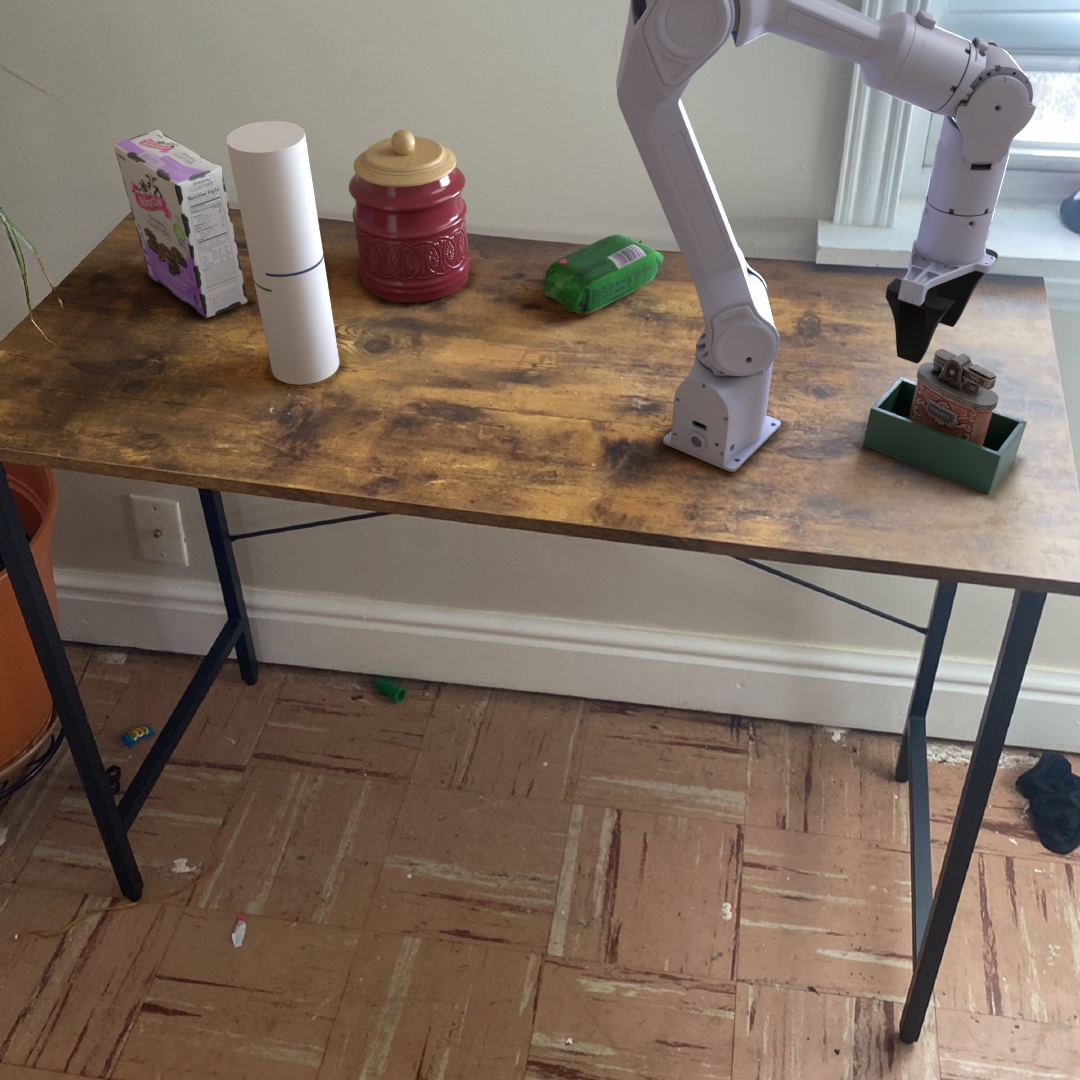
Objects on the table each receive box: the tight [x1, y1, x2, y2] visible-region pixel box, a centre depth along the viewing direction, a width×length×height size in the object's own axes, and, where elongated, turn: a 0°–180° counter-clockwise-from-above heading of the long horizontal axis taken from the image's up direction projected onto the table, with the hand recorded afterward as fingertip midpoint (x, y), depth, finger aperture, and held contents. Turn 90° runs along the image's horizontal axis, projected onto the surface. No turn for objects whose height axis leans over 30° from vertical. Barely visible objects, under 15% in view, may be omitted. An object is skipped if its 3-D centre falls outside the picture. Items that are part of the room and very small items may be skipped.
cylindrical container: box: [226, 120, 340, 386], centre depth 117 cm, size 7×7×25 cm
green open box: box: [862, 376, 1028, 495], centre depth 111 cm, size 6×12×4 cm, turn 53°
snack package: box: [542, 234, 665, 316], centre depth 134 cm, size 7×16×5 cm, turn 131°
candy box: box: [113, 129, 248, 319], centre depth 132 cm, size 14×6×16 cm, turn 42°
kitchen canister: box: [348, 129, 471, 304], centre depth 133 cm, size 13×13×18 cm
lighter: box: [909, 348, 1000, 446], centre depth 108 cm, size 8×3×10 cm, turn 39°
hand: (926, 340), depth 108 cm, fingers open, 7 cm apart
